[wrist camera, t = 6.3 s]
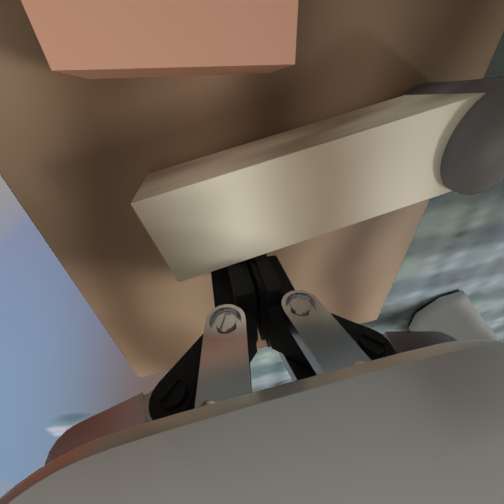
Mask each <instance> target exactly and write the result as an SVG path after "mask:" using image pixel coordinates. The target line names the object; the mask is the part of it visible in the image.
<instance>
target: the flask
mask: <svg viewBox="0 0 504 504" xmlns="http://www.w3.org/2000/svg"><path fill="white" fill-rule="evenodd" d="M408 329H409V330H410V331H436V332H442V333H445V334H447V335H450V336H452V337H453V338H455V339H456V340H470V339H482V340H496V341H500V340H499V339H498V337H497V336H496V335H495V334H494V332H493V331H492V330H491V328H490V327H489V326H488V325H487V323H486V322H485V321H484V319H483V318H482V316H481V315H480V314H479V312H478V311H477V309H476V308H475V307H474V305H473V304H472V302H471V301H470V300H469V298H468V297H467V296H466V294H465V293H464V292H463V291H459V292H455V293H452V294H449V295H446V296H442V297H439V298H438V299H436V300H435V301H433V302H432V303H430V304H429V305H427V306H426V307H424V308H423V309H421V310H420V311H418V312H417V313H416V314H415V316H414V318H413V320H412V322H411V324H410V326H409V328H408Z"/></svg>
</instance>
